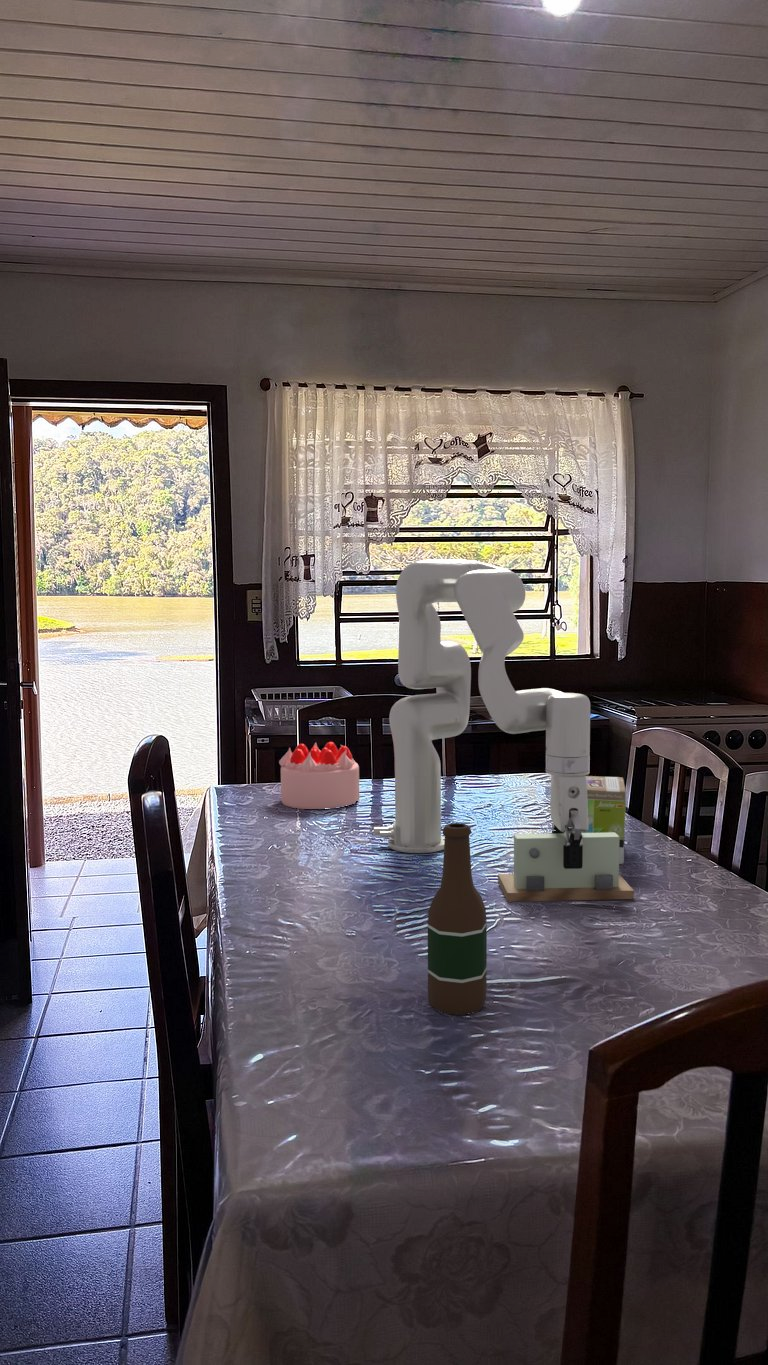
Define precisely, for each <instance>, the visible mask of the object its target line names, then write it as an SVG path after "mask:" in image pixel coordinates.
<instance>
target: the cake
mask: <svg viewBox="0 0 768 1365" xmlns="http://www.w3.org/2000/svg"><path fill="white" fill-rule="evenodd" d="M278 763H279V765H280V793H281V794H280V797H281V803H282V804H283V805H284V806H286V807H289V808H291V809H296V808H297V810H304V809H325V808H336V807H342V806H346V805H349V804H352V803H355V802H356V801H358V800H359V801H360V766H359V764H358V763H357V762H356V761H355V760H354V758H353V754H352V752H351V751H350V749H349V747H348V746H346V745H342V744H340V747H339V748H338V747H337V745H336V744H335V743H334V742H333V741H329V742H327V743H326V744H325V745H324V747H323V748H322V749H321V750H320V749H319V746H318V744H317V742H315V743H314V744H313V746H312V747H311V749H310V750H309V749H308V747H307V745H306V744H304V743H299V744H298V745H297V746H296V747H295V749H294V750H293V752H292V750H291V747H288V750H287V752H286V753H285V754H284V755H283V756H282V757H281V759H279V760H278ZM359 801H358V802H359Z"/></svg>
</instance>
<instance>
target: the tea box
mask: <svg viewBox="0 0 768 1365" xmlns="http://www.w3.org/2000/svg"><path fill="white" fill-rule="evenodd" d="M585 776H586V784H587V798H588V830H587V832H583V831H581V833H609V832H615V833H616V834H617V835H618V836H619V865H623V864H624V862H625V834H626V831H625V829H626V807H627V806H626V805H627V804H626V802H627V801H626V800H627V799H626V798H627V791H626V785H625V780H624V777H620V776H596V775H594V776H593V775H585Z"/></svg>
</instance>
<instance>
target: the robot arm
mask: <svg viewBox="0 0 768 1365" xmlns="http://www.w3.org/2000/svg"><path fill="white" fill-rule="evenodd" d="M395 587H396V588H395V597H396V605H397V611H398V621H399V622H398V623H399V625H398V656H397V657H398V661H397V666H398V667H397V669H398V670H397V672H398V677H399V681H400V683H401V684H402V685H403V686H404V687H406V688H407V689H412V690H424V689H426V690H427V689H435V688H436V693H427V694H415V695H408V696H405V697H402V698H400V699H399V700H398V701H397V700H396V702H394V704H393V705H392V706H391V708H390V711H389V718H388V719H389V728H390V732H391V736H392V742H393V744H392V745H393V753H394V754H393V756H394V796H395V798H394V809H395V812H394V814H395V818H394V819H395V820H394V821H393V823H392V824H393V825H390V824H389V825H388V826H385V827H384V826H374V827H373V836H374V837H379V838H380V839H382V838H383V839H386V838H389V839H388V840H387V841H388V842H387V844H388V847H389V848H390V849H392V850H393V851H396V852H399V853H400V852H401V853H408V854H431V853H436V852H440V851H444V842H445V836H444V835H442V802H441V801H442V794H441V793H442V792H441V791H442V790H441V789H442V782H441V781H442V780H441V779H442V775H441V774H442V773H441V760H440V756H439V754H438V752H437V750H436V747H434V744H433V741H434V740H439V739H447V738H453V737H456V736H460V735H461V734H462V733H463V732H464V731H465V730H466V728H467V726H468V723H469V717H470V711H471V710H470V709H471V708H470V707H471V706H470V705H471V684H472V682H471V681H472V667H471V665H472V664H471V661H470V657H469V654H468V652H467V650H466V649H465V647H463V646H462V645H461V644H460V643H458V642H455V641H450V640H448V641H446V640H445V641H441V639H442V638H441V634H442V633H441V632H442V631H441V630H442V624H441V619H440V616H439V614H438V611H437V610H436V608H435V606H434V605H433V604H434V603H457V604H458V606H459V609H460V611H461V613H462V615H463V617H464V619H465V621H466V624H467V625H468V627H469V630H470V632H471V634H472V636H473V638H474V640H475V642H476V643H477V645H478V648H479V650H480V652H481V658H480V661H479V664H478V672H477V673H478V674H477V675H478V676H477V677H478V678H477V679H478V680H477V681H478V682H477V683H478V690H479V694H480V697H481V699H482V701H483V703H484V705H485V708H486V709H487V711H488V713H489V714H488V715H489V716H490V718H491V719H492V721H493V722H494V723H495V725H496V726H497V728H499V729H500V731H503V732H504V733H507V734H511V735H517V734H524V733H530V732H538V731H539V732H540V731H545V773H546V774H548V775H551V776H550V777H551V778H550V792H549V793H550V796H549V800H550V801H549V804H550V805H549V806H550V807H549V813H550V820H551V822H552V824H551V829H552V830H551V834H554V833H564V838H565V845H563V867H564V868H565V869H581V868H582V864H583V841H582V835H581V831H583V832H587V830H588V798H587V784H586V776H589V774H590V768H591V767H590V763H591V762H590V760H591V759H590V758H591V757H590V755H591V754H590V752H591V750H590V749H591V748H590V745H591V701H590V699H589V697H588V696H587V695H585V694H582V693H578V692H577V693H575V692H563V691H561V690H557V689H554V688H549V687H541V688H531V689H530V688H529V689H521V690H519V689H518V690H515V688H514V687H513V685H512V683H511V680H510V678H509V676H508V674H507V671H506V665H505V661H506V657H507V656H509V655H510V654H512V653H513V652H514V651H515V650H517V649H518V648H519V647H520V645H521V644H522V643H523V641H524V638H525V635H524V634H525V633H524V631H523V629H522V627H521V625H520V624H519V622H518V619H517V618H516V616H515V613H514V612H517V611H518V610H520V608H521V607H523V605H524V602H525V600H526V588H525V585H524V583H523V581H522V578H521V577H520V576H519V575H518V574H517V573H515V572H514V571H512V570H510V569H507V568H504V567H500V566H495V565H492V564H488V563H485V562H481V561H477V560H472V559H471V560H470V559H423V560H418V561H414V562H412V563H410V564H407V565H406V566H405V567H404V568H403V569H402V571H401V572H400V573H399V576H398V578H397V581H396V586H395ZM569 834H571V835H570V838H569Z"/></svg>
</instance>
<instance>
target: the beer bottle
mask: <svg viewBox="0 0 768 1365" xmlns="http://www.w3.org/2000/svg"><path fill="white" fill-rule="evenodd" d="M472 833H473V832H472V829H471V826H470V825H468V824H465V823H462V822H453V823H448V824H445V826H443V830H442V832H441V835H442V836H444V837H445V842H444V849H443V861H442V862H443V863H442V876H441V883H440V887H439V888H438V890H437V891H436V893H435V895H434V896H433V897H432V900H431V902H430V904H429V905H430V906H429V909H428V912H427V914H428V915H427V994H428V995H427V997H428V1004H429V1005H430V1006H431V1007H432V1006H433V1007H434V1009H435V1010H436V1009H437V1010H438V1011H437V1010H436V1011H437V1012H439V1011H440V1012H442V1013H441V1014H444V1013H449V1014H448V1015H452V1014H457V1015H456V1016H459V1015H463V1016H465V1015H464V1014H467V1015H469V1014H468V1013H471V1014H473V1013H472V1012H475V1013H478V1012H477V1011H479V1012H481V1010H482V1007H483V1006H484V1004H485V1002H486V1000H487V986H488V985H487V981H488V980H487V977H488V976H487V975H488V974H487V963H488V962H487V958H488V956H487V954H488V953H487V951H488V950H487V948H488V946H487V944H488V942H487V939H488V938H487V935H488V934H487V933H488V931H487V929H488V926H487V924H488V922H487V911H486V910H487V909H486V906H485V903H484V900H483V898H482V897H483V896H482V895H481V894H480V893H479V891H478V890H477V889H476V887H475V885H474V881H473V880H474V878H473V874H472V863H471V862H472V861H471V847H470V846H471V845H470V835H471V834H472ZM433 1007H432V1008H433ZM440 1012H439V1013H440Z"/></svg>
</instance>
